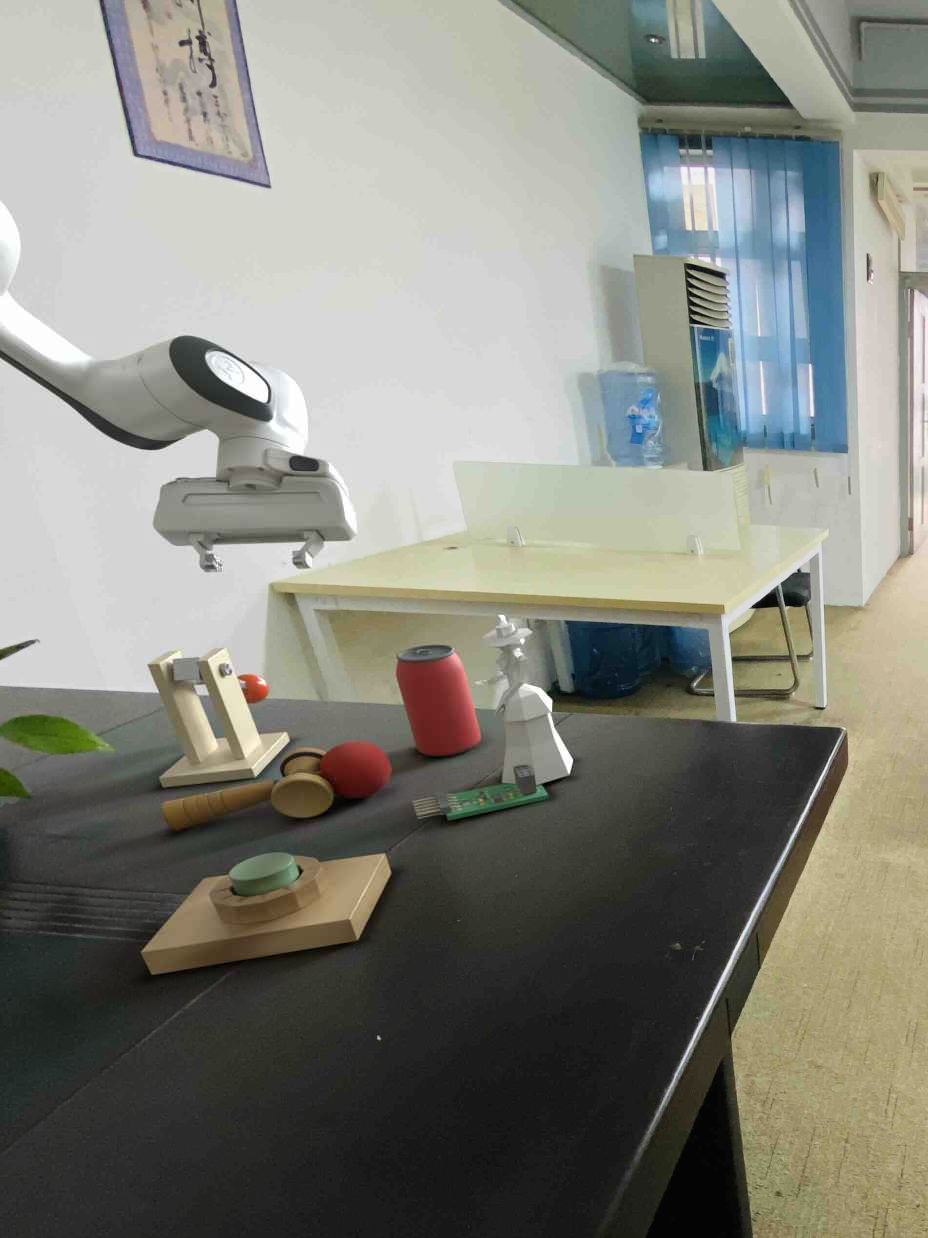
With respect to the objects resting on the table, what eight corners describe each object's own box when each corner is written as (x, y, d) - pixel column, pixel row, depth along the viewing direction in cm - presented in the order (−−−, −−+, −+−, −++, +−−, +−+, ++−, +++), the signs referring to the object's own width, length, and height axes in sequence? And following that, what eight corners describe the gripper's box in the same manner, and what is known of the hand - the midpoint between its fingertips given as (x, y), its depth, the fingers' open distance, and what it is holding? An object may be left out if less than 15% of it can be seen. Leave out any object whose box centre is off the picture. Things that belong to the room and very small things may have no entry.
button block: (151, 975, 60) (129, 932, 59) (213, 899, 69) (195, 860, 67) (357, 941, 65) (343, 900, 63) (391, 873, 73) (379, 835, 71)
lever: (240, 707, 98) (237, 678, 98) (276, 704, 99) (274, 675, 99) (165, 687, 84) (163, 653, 85) (208, 684, 86) (206, 650, 86)
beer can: (465, 731, 101) (442, 639, 96) (493, 744, 98) (470, 650, 93) (407, 748, 96) (379, 652, 91) (434, 764, 93) (406, 665, 88)
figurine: (485, 777, 89) (451, 617, 83) (553, 754, 96) (526, 605, 90) (523, 791, 86) (490, 626, 80) (591, 767, 93) (565, 612, 86)
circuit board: (413, 802, 78) (407, 783, 82) (420, 830, 80) (413, 810, 83) (545, 776, 85) (534, 759, 89) (549, 802, 87) (537, 784, 90)
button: (227, 902, 63) (218, 883, 62) (248, 874, 66) (241, 856, 66) (289, 893, 64) (282, 874, 63) (307, 866, 68) (300, 848, 67)
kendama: (174, 863, 75) (396, 795, 83) (138, 802, 73) (369, 739, 81) (199, 837, 82) (403, 777, 90) (167, 781, 80) (379, 724, 88)
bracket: (206, 748, 94) (164, 644, 89) (290, 740, 97) (253, 638, 91) (162, 787, 86) (112, 674, 80) (255, 777, 88) (212, 667, 83)
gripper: (145, 462, 100) (135, 557, 96) (343, 461, 107) (341, 550, 102) (177, 493, 105) (168, 585, 101) (363, 491, 112) (361, 577, 108)
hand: (256, 568), depth 102 cm, fingers open, 8 cm apart
